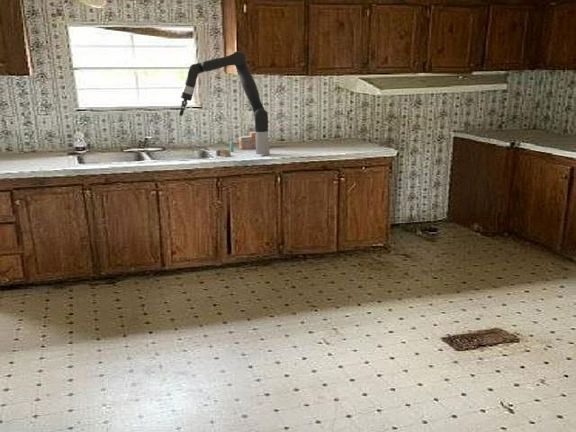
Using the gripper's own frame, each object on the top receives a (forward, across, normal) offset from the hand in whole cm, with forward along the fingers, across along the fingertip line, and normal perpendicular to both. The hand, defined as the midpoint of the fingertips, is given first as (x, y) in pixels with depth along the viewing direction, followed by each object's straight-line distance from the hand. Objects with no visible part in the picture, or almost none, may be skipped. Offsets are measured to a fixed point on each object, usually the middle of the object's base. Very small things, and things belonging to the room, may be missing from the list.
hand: (181, 114), depth 389 cm
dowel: (+17, +12, -43) cm, 48 cm away
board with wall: (+19, -2, -37) cm, 42 cm away
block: (+18, -4, -38) cm, 42 cm away
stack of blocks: (+11, +33, -60) cm, 69 cm away
